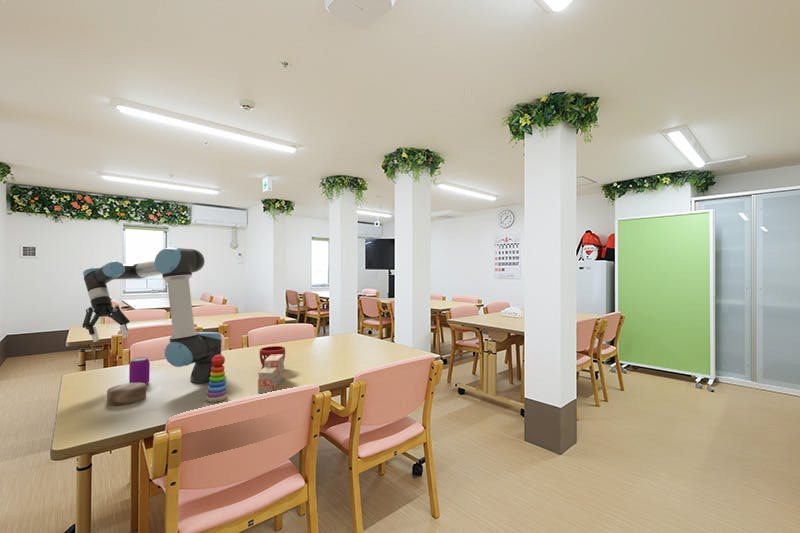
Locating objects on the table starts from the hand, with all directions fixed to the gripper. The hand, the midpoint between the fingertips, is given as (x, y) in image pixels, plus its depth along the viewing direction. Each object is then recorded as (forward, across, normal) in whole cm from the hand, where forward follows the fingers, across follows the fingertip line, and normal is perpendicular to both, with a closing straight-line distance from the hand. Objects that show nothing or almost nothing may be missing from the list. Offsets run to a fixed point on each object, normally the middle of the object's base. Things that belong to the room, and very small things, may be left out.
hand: (111, 339), depth 170 cm
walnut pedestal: (+32, +14, +17) cm, 39 cm away
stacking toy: (+47, +2, +48) cm, 67 cm away
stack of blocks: (+51, -20, +59) cm, 80 cm away
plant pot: (+43, -41, +47) cm, 76 cm away
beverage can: (+26, -2, +5) cm, 26 cm away
